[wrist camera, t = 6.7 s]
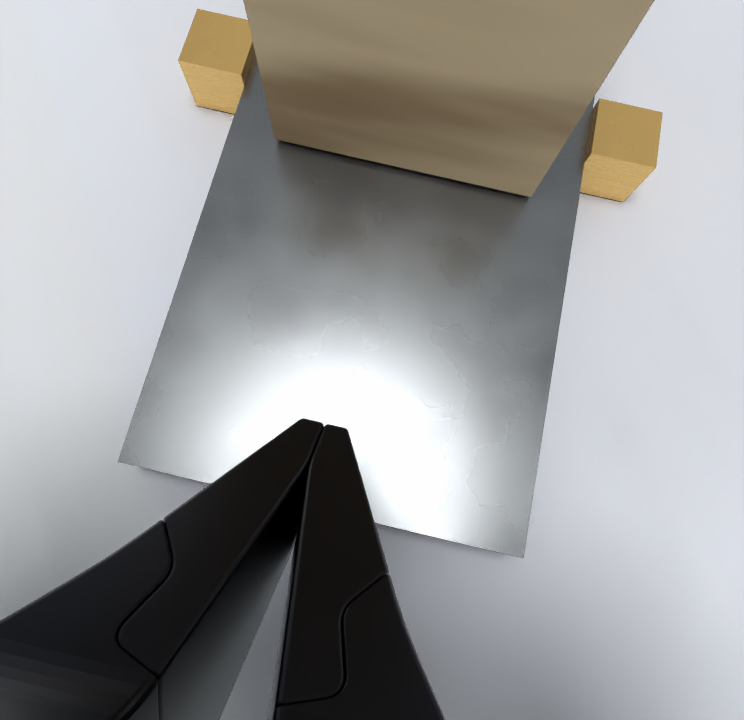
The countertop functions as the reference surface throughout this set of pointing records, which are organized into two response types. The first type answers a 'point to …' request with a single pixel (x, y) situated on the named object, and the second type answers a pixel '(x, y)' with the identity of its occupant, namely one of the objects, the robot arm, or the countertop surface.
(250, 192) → the metal tray
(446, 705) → the countertop surface
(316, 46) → the tan wooden block
